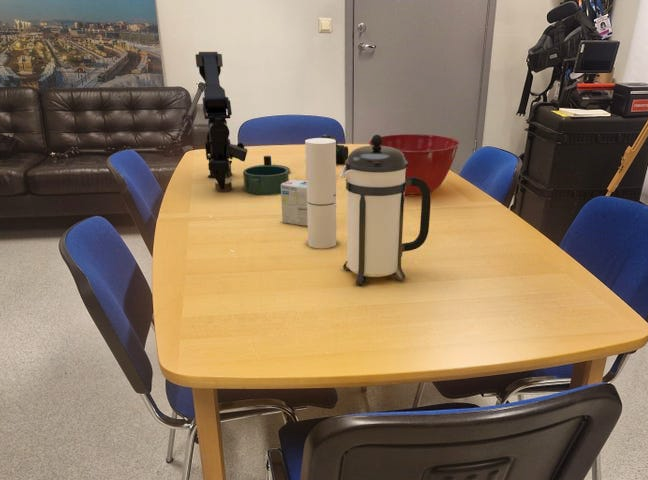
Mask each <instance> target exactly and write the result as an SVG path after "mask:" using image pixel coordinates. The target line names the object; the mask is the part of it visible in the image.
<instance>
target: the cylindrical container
mask: <svg viewBox="0 0 648 480" xmlns="http://www.w3.org/2000/svg"><path fill="white" fill-rule="evenodd" d="M336 140H337V139H336ZM336 140H334V139H329V138H321V137H313V138H308V139H305V140H304V145H305V147H304V148H305V151H304V152H305V181H306V184H307V219H308V226H307V245H308V246H309V247H310V248H313V249H330V248H333V247H335V246H336V245H337V164H336Z"/></svg>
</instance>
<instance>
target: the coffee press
mask: <svg viewBox="0 0 648 480" xmlns="http://www.w3.org/2000/svg"><path fill="white" fill-rule="evenodd" d="M370 140H371V141H372V144H373V145H374V146H370V145H366V146H360V147H357V148H355V149H353V150H352V151H350V152H349V153H348V159H347V160H346V161H345V164H344V166H343V168H342V170H341V172H340V175H339V178H340V179H345V189H346V196H347V197H346V261H345V263H344V264H343V265H342V269H343V270H344V271H349V270H350V271H351V272H352V273H354V274H356V275H357V277H356V280H355V284H356V285H358V286H362V287H363V286H364V285H365V282H366V280H367V278H381V277H382V278H383V277H387V276H393V277H394V278H395V279H396V280H397V281H398V282H402V281H403V280H405V279H406V274H405V272H404V270H403V268H402V257H403V253H404V252H409V251H414V250H416V249H418V248H421V247H422V246H423V245H424V243H425V242H426V240H427V238H428V235H429V229H430V221H431V220H430V219H431V217H430V216H431V205H432V203H431V201H432V200H431V199H432V197H431V193H430V190H429V187H428V185H427V184H426V182H425V181H423V180H422V179H419V178H416V177H410V178H405V171H406V168H407V166H408V162H407V160H406V159H405V156H404V154H403V153H402V152H401V151H400V150H398V149H396V148H392V147H387V146H380V145H381V144H382V141H383V140H382V135H380V134H375V135H373V136H372V137H371V139H370ZM406 186H417V187H418V188H419V189H420V191H421V194H422V195H421V208H420V221H419V222H420V223H419V231H418V232H419V233H418V235H417V237H416V238H415V239H414V240H413V241H409V242H403V232H404V231H403V230H404V211H405V209H404V208H405V195H404V191H405V189H406ZM397 272H399V274H400V275H399V274H398V273H397Z"/></svg>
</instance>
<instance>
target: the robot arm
mask: <svg viewBox="0 0 648 480" xmlns="http://www.w3.org/2000/svg"><path fill="white" fill-rule="evenodd" d="M194 57H195V64H196V68H198V74H199V75H200V77H201V79H203V81H204V86H205V88H204V89H203V97H202V108H203V116H204V120H208V121H207V125H208V127H207V128H208V131H207V133H206V137H205V138H206V140H204V148H205V149H204V150H205V158H206V160H207V161H208V164H207V165H208V166H207V167H208V171H209V175H207V177H208V178H214V179H216V180H217V182H218V184H219V186H220V188H221V189H225V179H226V178H230V176H233V172H232V163H233V159H237V160H239V161H240V162H245V161H246V158H247V154H248V148H246V147H245V143H244V142H241V141H239V142H238V143H237V144H233V143H231V139H230V138H229V137H230V129H229V126H228V120H227V119H231V116H232V106H231V100H230V99H229V97H228V96H226V91H225V88H224V87H222V86H221V84H220V83H221V82H220V76H221V71H222V68H223V66H224V65H223V63H224V62H223V54H222V53H218V51H198V53H195V56H194Z"/></svg>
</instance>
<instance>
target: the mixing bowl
mask: <svg viewBox="0 0 648 480" xmlns="http://www.w3.org/2000/svg"><path fill="white" fill-rule="evenodd" d="M381 137H382V140H383V141H382V144H381V145H380V146H387V147H392V148H396V149H398V150H400V151H401V152H402V153H403V154H404V156H405V159H406V160H407V162H408V166H407V168H406V171H405V178H410V177H416V178H419V179H422V180H423V181H425V182H426V184H427V185H428V187H429V190H430V194H432V193H433V192H434V191H436V190H437V189H438V188H439V187H441V185H443V182H444V181H445V179H446V177H447V176H448V174H449V171H450V169H451V167H452V165H453V162H454V159H455V156H456V154H457V151H458V147H459V145H460V141H459V140H457V139H456V138H453V137H449V136H444V135H435V134H422V133H421V134H419V133H408V134H407V133H406V134H405V133H403V134H391V135H390V134H389V135H381ZM371 140H372V139H370V140H369V142H368V145H369V146H374V145H373V144H372V141H371ZM404 196H411V197H412V196H413V197H414V196H422V194H421V191H420V189H419V188H418V187H417V186H406V189H405V191H404Z"/></svg>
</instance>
